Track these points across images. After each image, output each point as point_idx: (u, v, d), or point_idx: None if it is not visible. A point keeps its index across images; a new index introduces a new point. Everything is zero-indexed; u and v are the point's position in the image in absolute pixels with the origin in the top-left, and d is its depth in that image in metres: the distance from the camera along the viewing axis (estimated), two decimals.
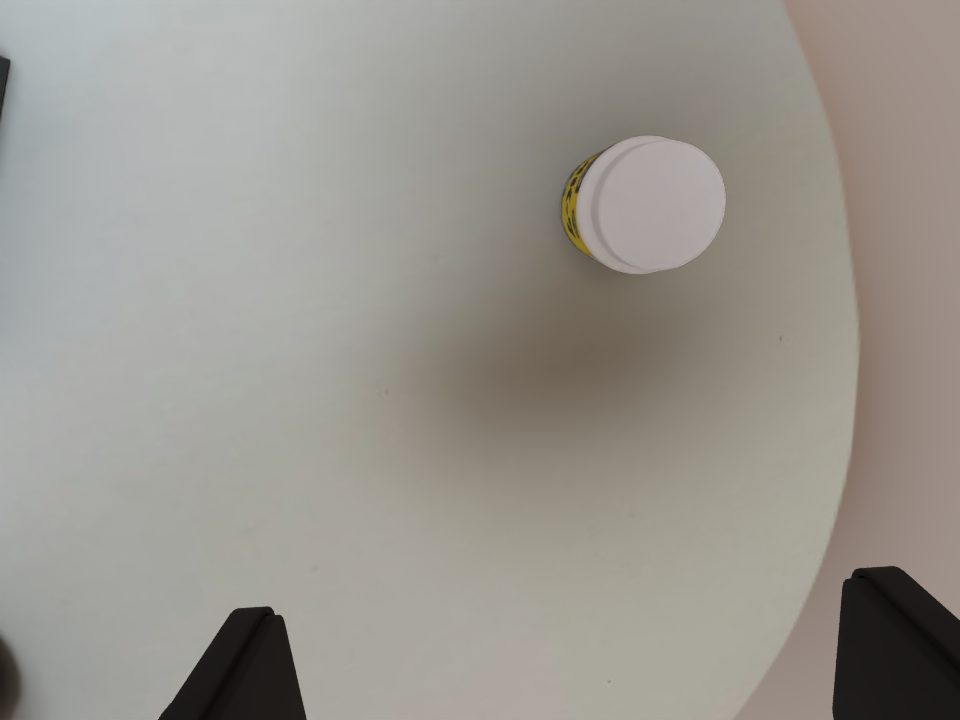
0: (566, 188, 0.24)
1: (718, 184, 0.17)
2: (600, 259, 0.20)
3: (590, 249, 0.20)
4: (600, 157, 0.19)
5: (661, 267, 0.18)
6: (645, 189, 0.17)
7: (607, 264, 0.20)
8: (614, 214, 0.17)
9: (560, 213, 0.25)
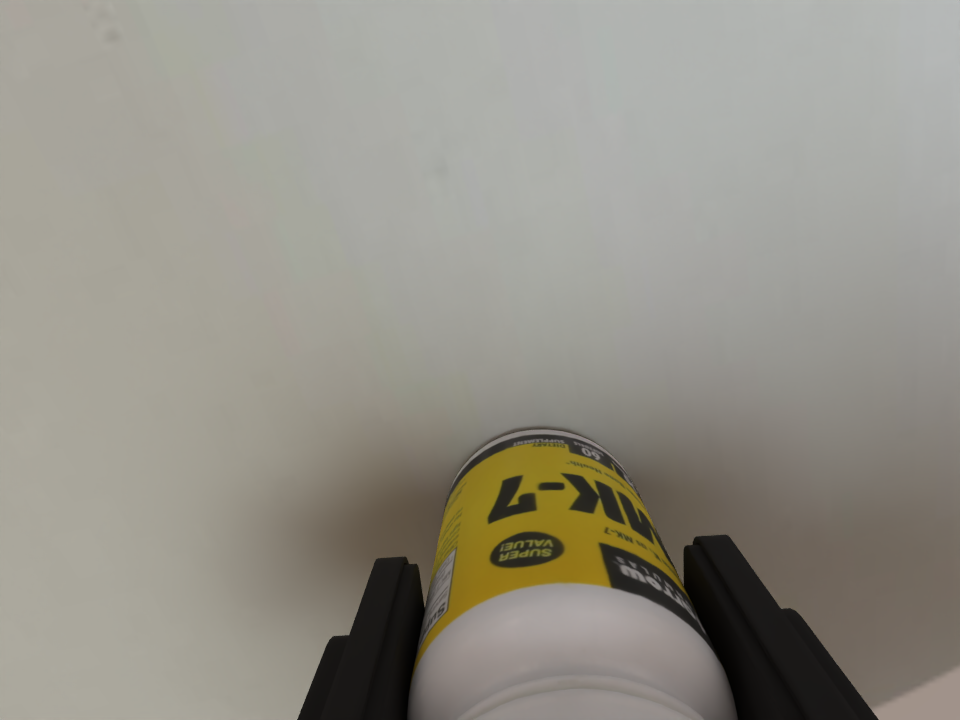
0: (584, 456, 0.12)
1: None
2: (441, 651, 0.08)
3: (466, 627, 0.07)
4: (699, 645, 0.07)
5: None
6: None
7: (428, 667, 0.08)
8: None
9: (532, 432, 0.13)
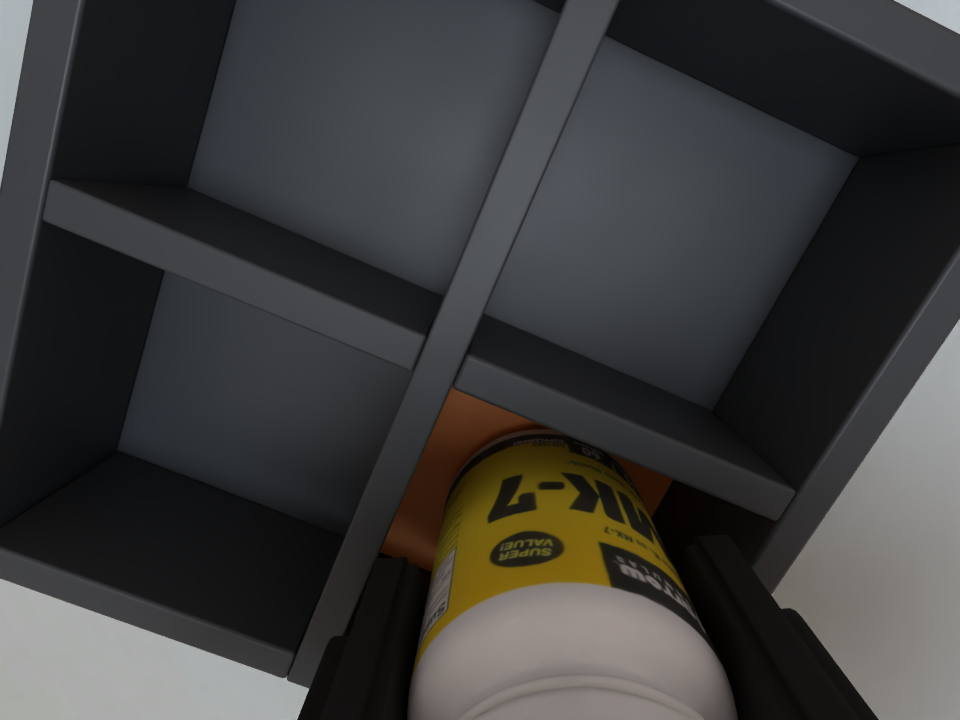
0: (584, 456, 0.12)
1: None
2: (441, 651, 0.07)
3: (466, 626, 0.07)
4: (699, 645, 0.07)
5: None
6: None
7: (428, 667, 0.08)
8: None
9: (532, 431, 0.13)
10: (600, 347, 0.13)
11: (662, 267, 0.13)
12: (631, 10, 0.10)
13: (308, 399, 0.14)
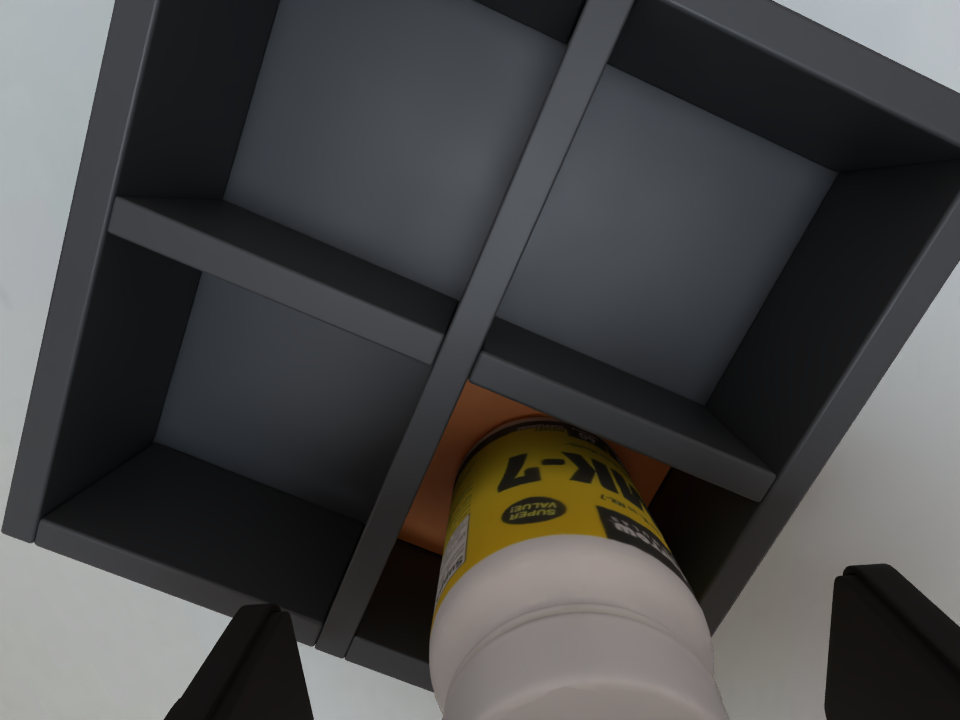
0: (581, 439, 0.13)
1: None
2: (461, 592, 0.09)
3: (484, 571, 0.09)
4: (681, 587, 0.09)
5: None
6: None
7: (450, 607, 0.09)
8: (585, 716, 0.07)
9: (534, 419, 0.14)
10: (601, 346, 0.14)
11: (658, 273, 0.14)
12: (628, 44, 0.11)
13: (331, 395, 0.15)
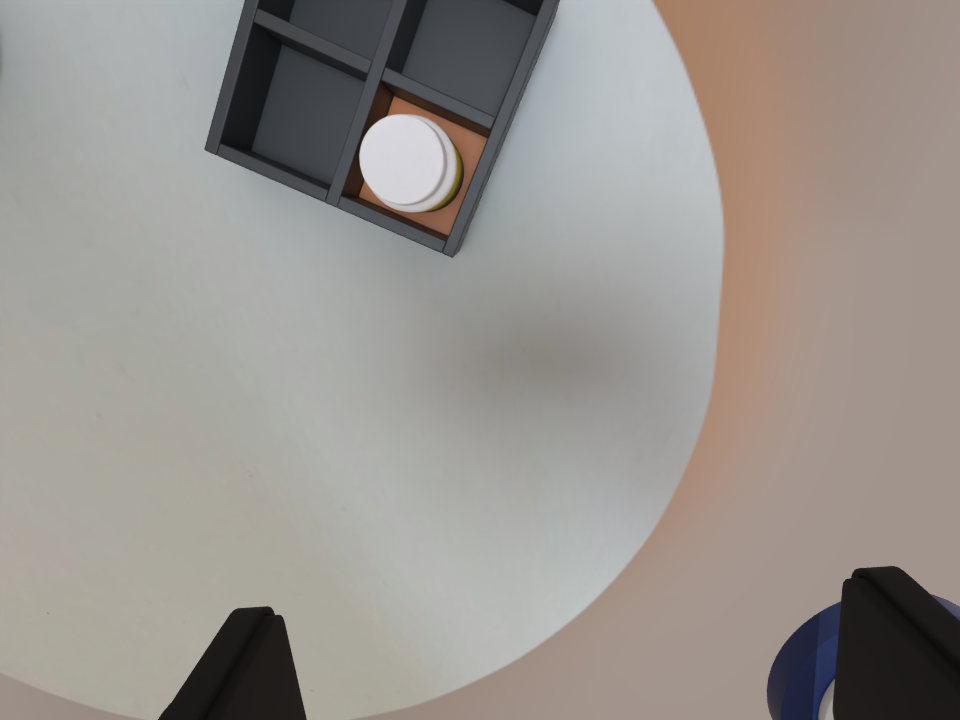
0: None
1: (416, 197, 0.26)
2: None
3: None
4: (442, 130, 0.27)
5: (361, 162, 0.25)
6: (412, 146, 0.25)
7: None
8: (396, 125, 0.25)
9: None
10: None
11: (470, 64, 0.32)
12: None
13: (331, 125, 0.33)
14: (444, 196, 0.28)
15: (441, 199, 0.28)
